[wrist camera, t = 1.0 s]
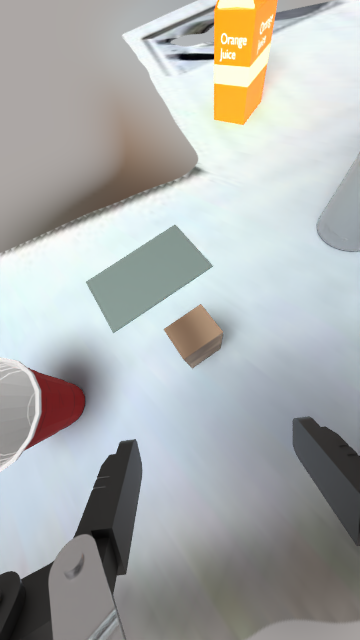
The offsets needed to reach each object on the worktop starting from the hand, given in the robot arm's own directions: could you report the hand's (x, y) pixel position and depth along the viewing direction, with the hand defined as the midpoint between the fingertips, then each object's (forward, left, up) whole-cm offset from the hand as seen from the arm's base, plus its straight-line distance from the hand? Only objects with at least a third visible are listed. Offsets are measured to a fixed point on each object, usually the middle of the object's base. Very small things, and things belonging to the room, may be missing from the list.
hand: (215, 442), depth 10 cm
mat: (-3, -24, -18) cm, 30 cm away
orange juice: (-43, -49, -18) cm, 68 cm away
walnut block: (-3, -8, -18) cm, 20 cm away
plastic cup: (+18, -12, -18) cm, 28 cm away
